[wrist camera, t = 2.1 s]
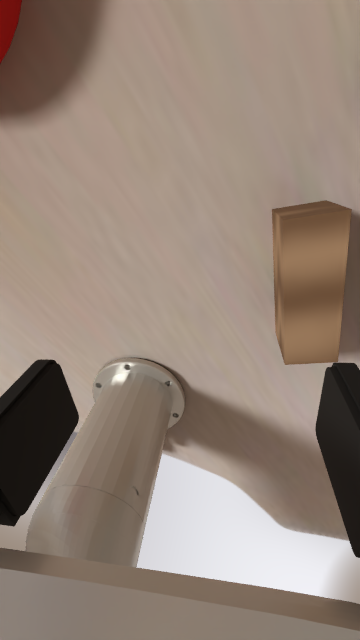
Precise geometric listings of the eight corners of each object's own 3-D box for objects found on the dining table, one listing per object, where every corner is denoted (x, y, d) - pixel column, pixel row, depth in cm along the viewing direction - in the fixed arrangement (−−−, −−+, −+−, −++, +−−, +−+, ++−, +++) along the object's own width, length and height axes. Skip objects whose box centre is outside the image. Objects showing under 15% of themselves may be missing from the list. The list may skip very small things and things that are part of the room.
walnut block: (318, 328, 31) (337, 361, 25) (275, 331, 32) (284, 364, 26) (325, 200, 25) (351, 209, 20) (271, 209, 26) (283, 220, 20)
